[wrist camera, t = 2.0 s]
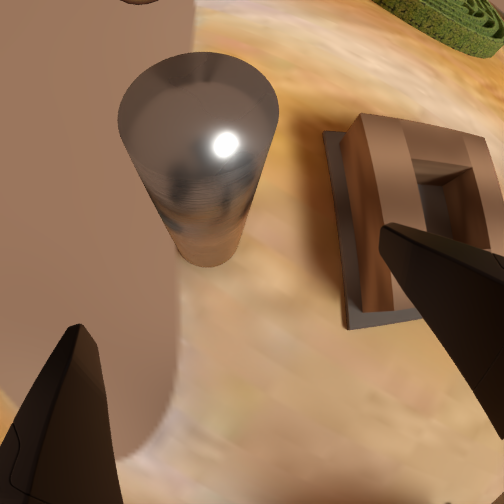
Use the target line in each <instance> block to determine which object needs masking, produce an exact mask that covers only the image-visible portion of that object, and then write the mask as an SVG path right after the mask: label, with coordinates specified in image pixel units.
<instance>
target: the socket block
mask: <svg viewBox="0 0 504 504" xmlns="http://www.w3.org/2000/svg"><path fill="white" fill-rule="evenodd" d="M323 139H324V144H325V150H326V155H327V161H328V167H329V173H330V179H331V185H332V192H333V198H334V205H335V212H336V220H337V227H338V235H339V244H340V252H341V261H342V271H343V281H344V292H345V304H346V317H347V330H354V329H361V328H368V327H375V326H381V325H388V324H394V323H400V322H406V321H411V320H417V319H422V318H423V317H422V316H421V315H420V313H419V312H418V311H417V309H416V308H415V307H414V305H413V304H412V303H411V301H410V300H409V299H408V297H407V296H406V294H405V293H404V292H403V290H402V289H401V287H400V286H399V284H398V282H397V281H396V279H395V278H394V276H393V274H392V273H391V271H390V270H389V268H388V266H387V265H386V263H385V262H384V260H383V259H382V257H381V255H380V253H379V250H378V245H379V234H380V228H381V226H382V225H385V224H388V223H391V222H394V223H398V224H402V225H405V226H409V227H412V228H416V229H419V230H422V231H426V232H429V233H433V234H436V235H439V236H442V237H446V238H449V239H452V240H455V241H458V242H462V243H465V244H468V245H471V246H474V247H477V248H480V249H483V250H486V251H489V252H491V253H495V254H498V255H501V256H504V201H503V197H502V193H501V189H500V185H499V182H498V178H497V175H496V171H495V168H494V165H493V162H492V159H491V156H490V153H489V150H488V147H487V144H486V141H485V138H483V137H480V136H476V135H472V134H468V133H465V132H461V131H456V130H452V129H448V128H444V127H439V126H434V125H430V124H425V123H420V122H414V121H409V120H403V119H398V118H392V117H385V116H379V115H372V114H364V113H360V114H359V115H358V117H357V118H356V120H355V121H354V123H353V124H352V125H351V127H350V128H349V130H348V131H347V132H335V131H324V132H323Z"/></svg>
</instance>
